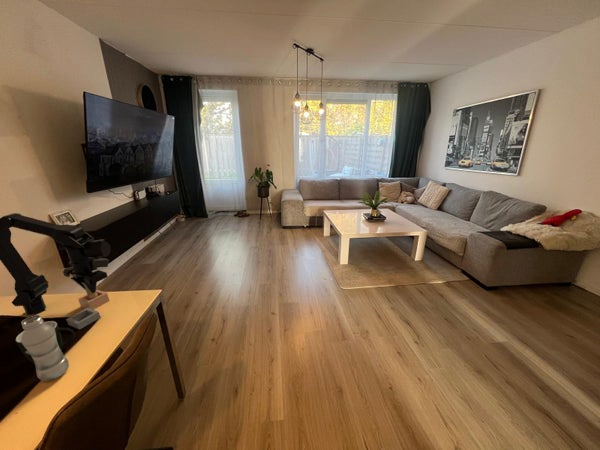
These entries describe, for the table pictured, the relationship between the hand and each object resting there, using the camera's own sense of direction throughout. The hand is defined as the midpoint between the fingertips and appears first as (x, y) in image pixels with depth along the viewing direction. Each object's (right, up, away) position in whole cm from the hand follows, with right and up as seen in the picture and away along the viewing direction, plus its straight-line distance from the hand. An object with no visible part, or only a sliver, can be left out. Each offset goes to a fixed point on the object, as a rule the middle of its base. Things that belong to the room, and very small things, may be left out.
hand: (91, 291), depth 100 cm
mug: (+7, -15, -21) cm, 27 cm away
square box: (0, -7, +2) cm, 7 cm away
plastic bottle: (+14, -17, -28) cm, 36 cm away
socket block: (+4, -10, -8) cm, 13 cm away
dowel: (0, -6, +2) cm, 6 cm away
